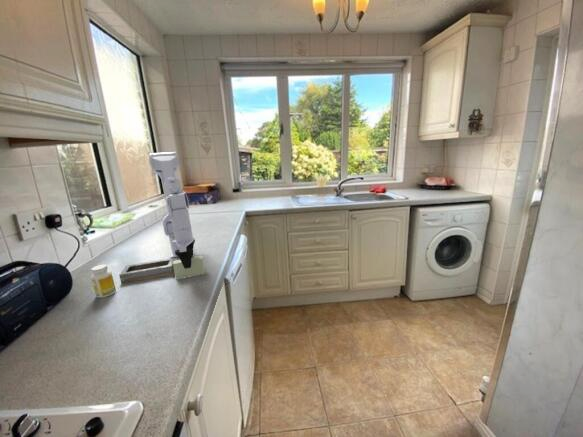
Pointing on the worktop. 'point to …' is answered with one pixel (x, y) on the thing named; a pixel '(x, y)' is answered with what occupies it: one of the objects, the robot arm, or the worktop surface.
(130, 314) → the worktop surface
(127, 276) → the frame
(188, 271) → the door panel
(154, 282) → the worktop surface
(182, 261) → the robot arm
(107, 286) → the supplement bottle
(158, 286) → the worktop surface
